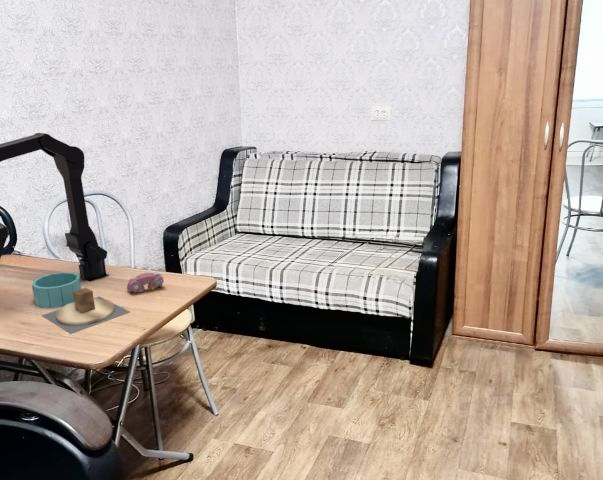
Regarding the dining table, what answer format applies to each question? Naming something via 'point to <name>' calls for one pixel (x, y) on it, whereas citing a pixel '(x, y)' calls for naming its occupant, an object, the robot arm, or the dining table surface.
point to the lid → (84, 309)
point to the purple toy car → (145, 282)
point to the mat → (72, 329)
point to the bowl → (55, 289)
